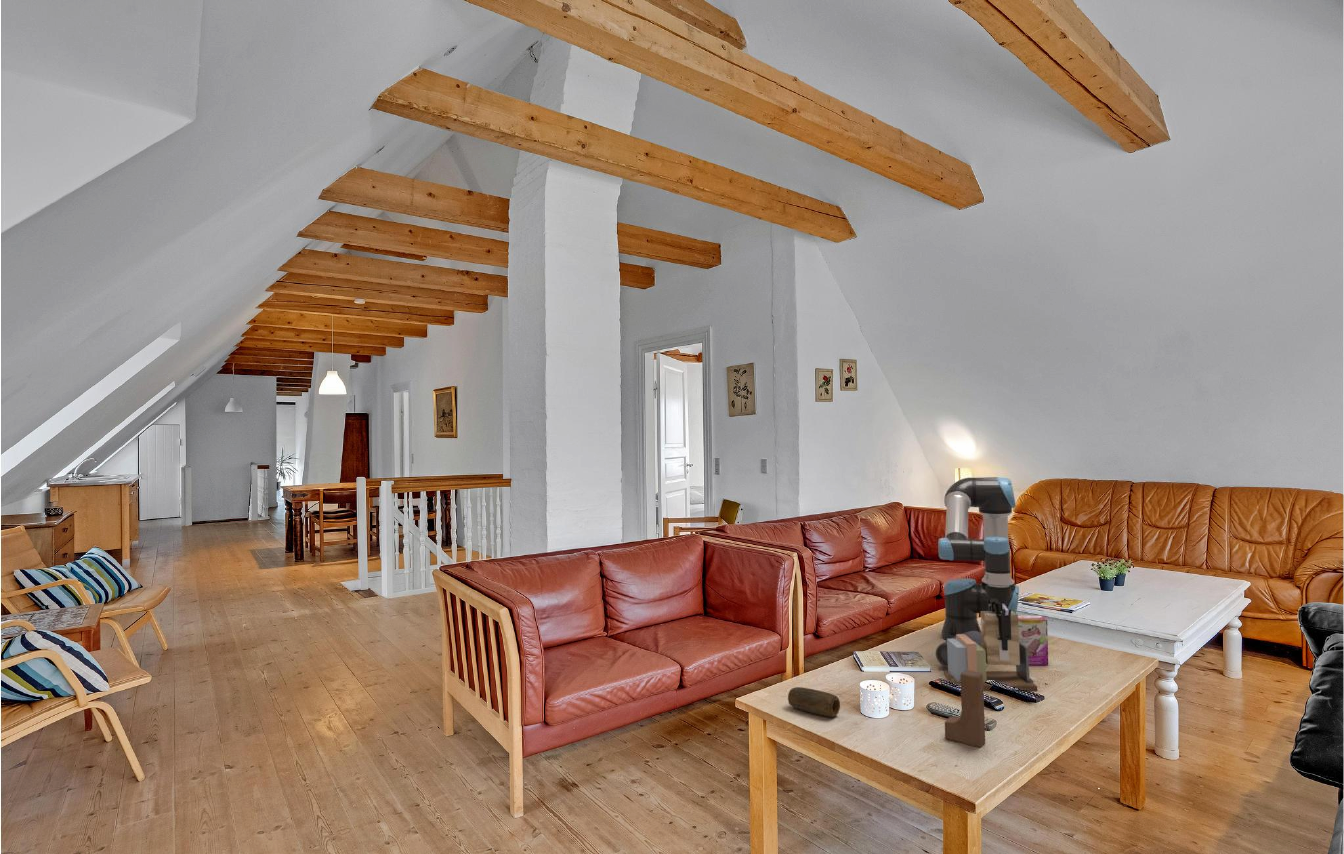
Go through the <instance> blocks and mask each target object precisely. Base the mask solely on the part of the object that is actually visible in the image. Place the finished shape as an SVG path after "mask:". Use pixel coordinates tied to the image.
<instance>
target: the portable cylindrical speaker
mask: <svg viewBox="0 0 1344 854" xmlns="http://www.w3.org/2000/svg"><path fill="white" fill-rule="evenodd" d="M787 702H788V704H789V705H790V706H792V707H794V708H795V709H797V708H798V709H799V710H800V709H801V710H800V711H803V710H804V711H803V712H806V711H808V712H807V713H811V714H814V713H815V714H814V715H818V714H819V715H818V716H822V715H823V716H822V717H831V718H834V717H837V715H838V714H839V712H840V710H841V701H840V699H839V697H838V696H837V695H836V694H832V693H829V692H826V691H822V690H819V689H818V690H817V689H813V688H806V687H803V686H802V687H801V686H800V687H799V686H797V687H793V688H791V689H790V690H789V692H788V694H787Z"/></svg>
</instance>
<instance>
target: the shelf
mask: <svg viewBox="0 0 1344 854" xmlns="http://www.w3.org/2000/svg"><path fill="white" fill-rule="evenodd" d="M943 675H944V676H945V678H946V679H947V680H948V681H949V680H950V681H951V682H953V683H954V684H956V685H958V686H961V682H957V681H956V679H955V678H954V677H953V676H952V675H951V674H950V673H949V672H948V670H943ZM986 678H987V680H995V681H997V682H1001V683H1003V684H1007V685H1009V686H1013V687H1015V688H1020V689H1022V690H1027V691H1026V692H1037V691H1038V685H1036V684H1035V683H1027V682H1025V681H1024V680H1023V679H1022V678H1020V677H1019V676H1018V675H1017V674H1016V670H1015V671H1013V670H1011V671H1010V670H986ZM950 681H949V682H950ZM951 682H950V683H951ZM992 686H993V685H990V684H987V683H985V682H983V691H988V690H989V689H990V688H991V687H992Z"/></svg>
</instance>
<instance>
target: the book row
mask: <svg viewBox="0 0 1344 854" xmlns="http://www.w3.org/2000/svg"><path fill="white" fill-rule="evenodd" d="M946 641H947V654H948V668H947V671H948V672H949V673H950V674H951V675H952V676H953V677H954V678H955V679H956V681H957V682H961V679H960V674H961V673H962V672H963V671H965V670H970V671H975V672H981V673H982V674H983V682H986V681H987V678H986V671H987V664H986V652H985V650H984V649H983V648H982V647H981V646H979V645H978V644H977V643H976V642H974V641H972V640H971V639H970V638H969V637H967V636H966V635H965V634H956V639H947V640H946Z"/></svg>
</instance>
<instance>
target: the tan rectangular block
mask: <svg viewBox="0 0 1344 854" xmlns="http://www.w3.org/2000/svg"><path fill="white" fill-rule="evenodd" d="M998 615H1001V614H998ZM1018 615H1019V614H1018V613H1017V612H1016V613H1014V612H1012V611H1011V640H1008V648H1009V660H999V640H998V639H997V638H1000V636H999V626H998V618H997V616H996V614H995V612H992V611H981V614H980V629H981V634H982V648H983V649H984V650H985V652H986V666H987V665H988V666H989V665H991V666H992V665H993V666H994V665H995V666H1016V665H1020V652H1019V627H1018Z"/></svg>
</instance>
